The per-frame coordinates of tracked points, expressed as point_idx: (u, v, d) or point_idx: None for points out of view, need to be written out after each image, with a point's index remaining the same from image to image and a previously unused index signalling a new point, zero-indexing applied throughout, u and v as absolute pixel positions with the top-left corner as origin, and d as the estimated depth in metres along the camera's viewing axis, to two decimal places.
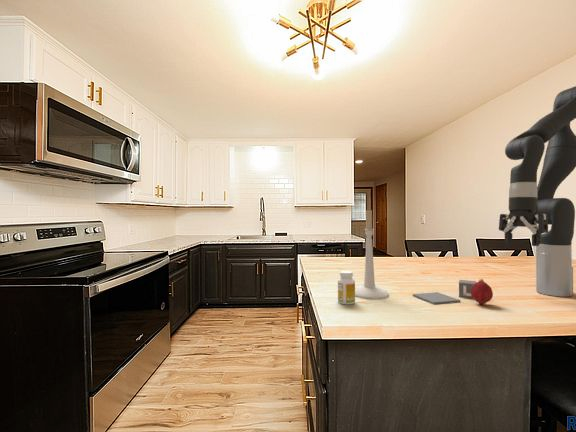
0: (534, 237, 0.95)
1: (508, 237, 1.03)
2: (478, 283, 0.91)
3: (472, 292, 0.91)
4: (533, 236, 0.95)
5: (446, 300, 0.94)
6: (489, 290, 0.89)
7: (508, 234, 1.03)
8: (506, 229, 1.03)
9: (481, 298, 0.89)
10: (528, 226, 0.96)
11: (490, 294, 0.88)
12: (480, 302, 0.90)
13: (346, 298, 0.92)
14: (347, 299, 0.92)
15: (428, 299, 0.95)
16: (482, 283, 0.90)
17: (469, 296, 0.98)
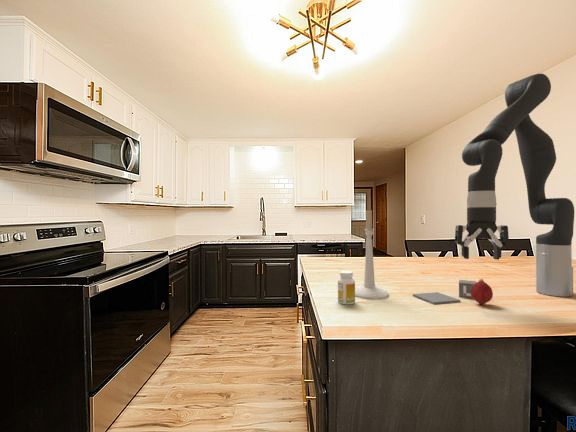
0: None
1: None
2: (478, 283, 0.91)
3: (472, 292, 0.91)
4: (498, 249, 0.89)
5: (446, 300, 0.94)
6: (489, 290, 0.89)
7: None
8: (467, 243, 0.90)
9: (481, 298, 0.89)
10: (495, 239, 0.89)
11: (490, 294, 0.88)
12: (480, 302, 0.90)
13: (346, 298, 0.92)
14: (347, 299, 0.92)
15: (428, 299, 0.95)
16: (482, 283, 0.90)
17: (469, 296, 0.98)
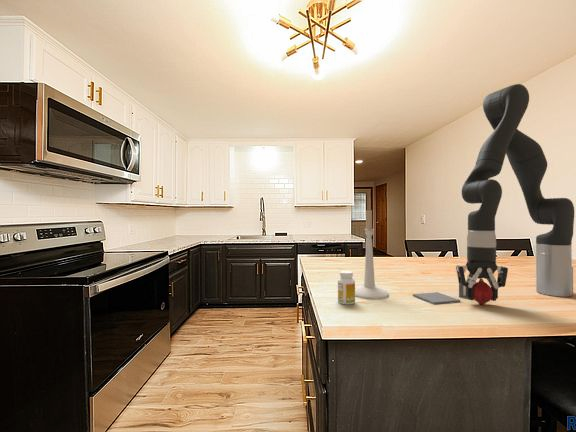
0: (495, 292, 0.90)
1: None
2: (478, 283, 0.91)
3: None
4: (495, 291, 0.89)
5: (446, 300, 0.94)
6: (489, 290, 0.89)
7: None
8: (471, 284, 0.90)
9: (481, 298, 0.89)
10: (493, 280, 0.89)
11: (490, 294, 0.88)
12: (480, 302, 0.90)
13: (346, 298, 0.92)
14: (347, 299, 0.92)
15: (428, 299, 0.95)
16: (482, 283, 0.90)
17: None
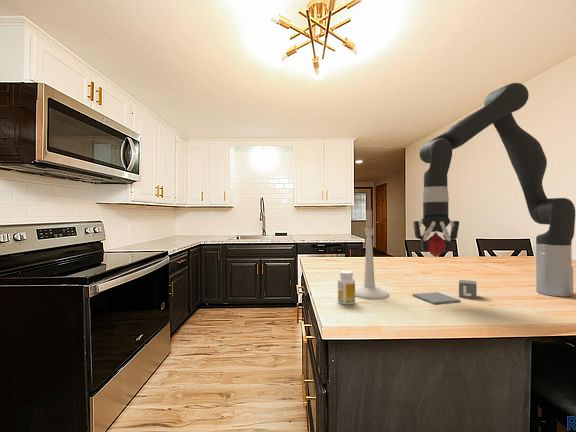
0: (448, 244, 0.96)
1: None
2: (432, 236, 0.97)
3: None
4: (447, 243, 0.96)
5: (446, 300, 0.94)
6: (442, 242, 0.95)
7: None
8: (426, 237, 0.97)
9: (434, 249, 0.95)
10: (445, 232, 0.95)
11: (442, 245, 0.95)
12: (434, 254, 0.96)
13: (346, 298, 0.92)
14: (347, 299, 0.92)
15: (428, 299, 0.95)
16: (436, 236, 0.96)
17: (469, 296, 0.98)
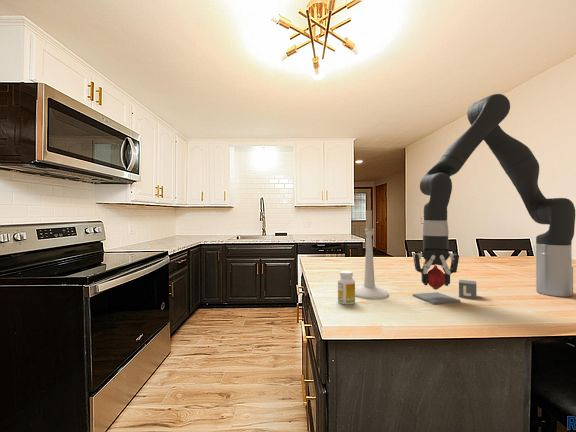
0: (448, 277, 0.96)
1: None
2: (432, 269, 0.97)
3: None
4: (447, 276, 0.96)
5: (446, 300, 0.94)
6: (441, 276, 0.95)
7: None
8: (426, 270, 0.97)
9: (434, 283, 0.95)
10: (445, 266, 0.96)
11: (442, 279, 0.95)
12: (434, 287, 0.97)
13: (346, 298, 0.92)
14: (347, 299, 0.92)
15: (428, 299, 0.95)
16: (436, 269, 0.96)
17: (469, 296, 0.98)
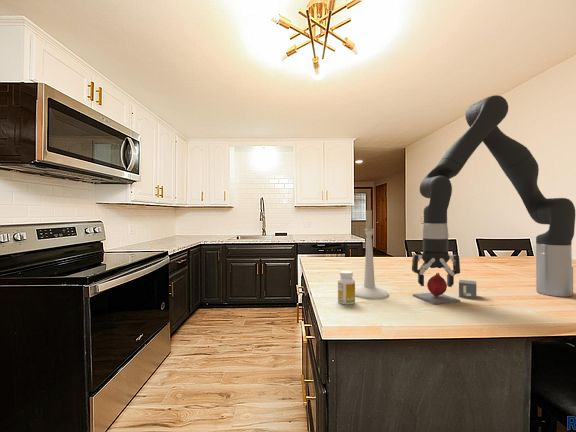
0: (451, 278, 0.96)
1: None
2: (434, 276, 0.97)
3: (428, 284, 0.97)
4: (450, 277, 0.96)
5: (446, 300, 0.94)
6: (443, 283, 0.95)
7: None
8: (422, 271, 0.97)
9: (435, 290, 0.95)
10: (447, 268, 0.95)
11: (444, 287, 0.95)
12: (434, 294, 0.97)
13: (346, 298, 0.92)
14: (347, 299, 0.92)
15: (428, 299, 0.95)
16: (438, 277, 0.96)
17: (469, 296, 0.98)
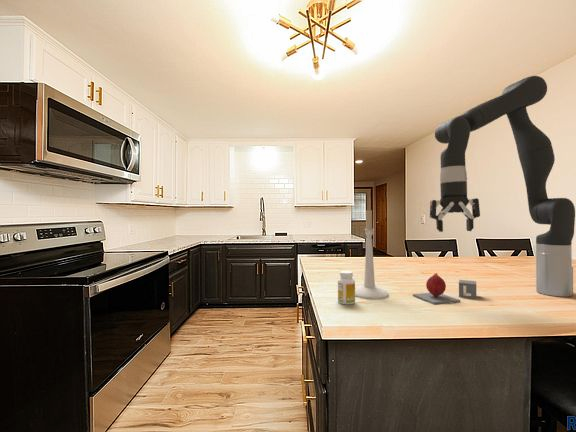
0: (471, 222, 0.94)
1: None
2: (432, 277, 0.97)
3: (427, 285, 0.98)
4: (470, 221, 0.94)
5: (446, 300, 0.94)
6: (442, 283, 0.95)
7: None
8: (441, 216, 0.95)
9: (434, 290, 0.95)
10: (467, 211, 0.94)
11: (443, 287, 0.95)
12: (434, 294, 0.97)
13: (346, 298, 0.92)
14: (347, 299, 0.92)
15: (428, 299, 0.95)
16: (436, 277, 0.96)
17: (469, 296, 0.98)
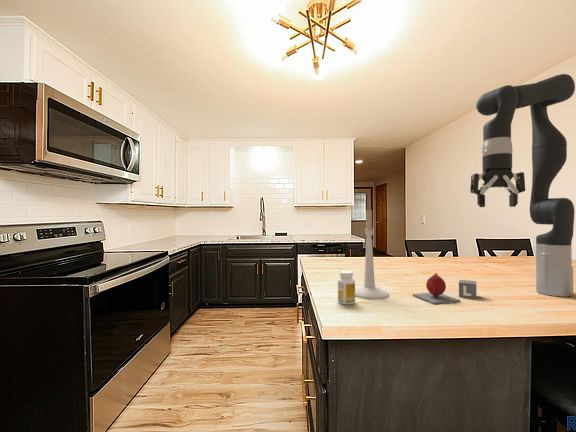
0: None
1: None
2: (432, 277, 0.97)
3: (427, 285, 0.98)
4: (514, 196, 0.89)
5: (446, 300, 0.94)
6: (442, 283, 0.95)
7: None
8: (483, 190, 0.91)
9: (434, 290, 0.95)
10: (511, 186, 0.89)
11: (443, 287, 0.95)
12: (434, 294, 0.97)
13: (346, 298, 0.92)
14: (347, 299, 0.92)
15: (428, 299, 0.95)
16: (436, 277, 0.96)
17: (469, 296, 0.98)
